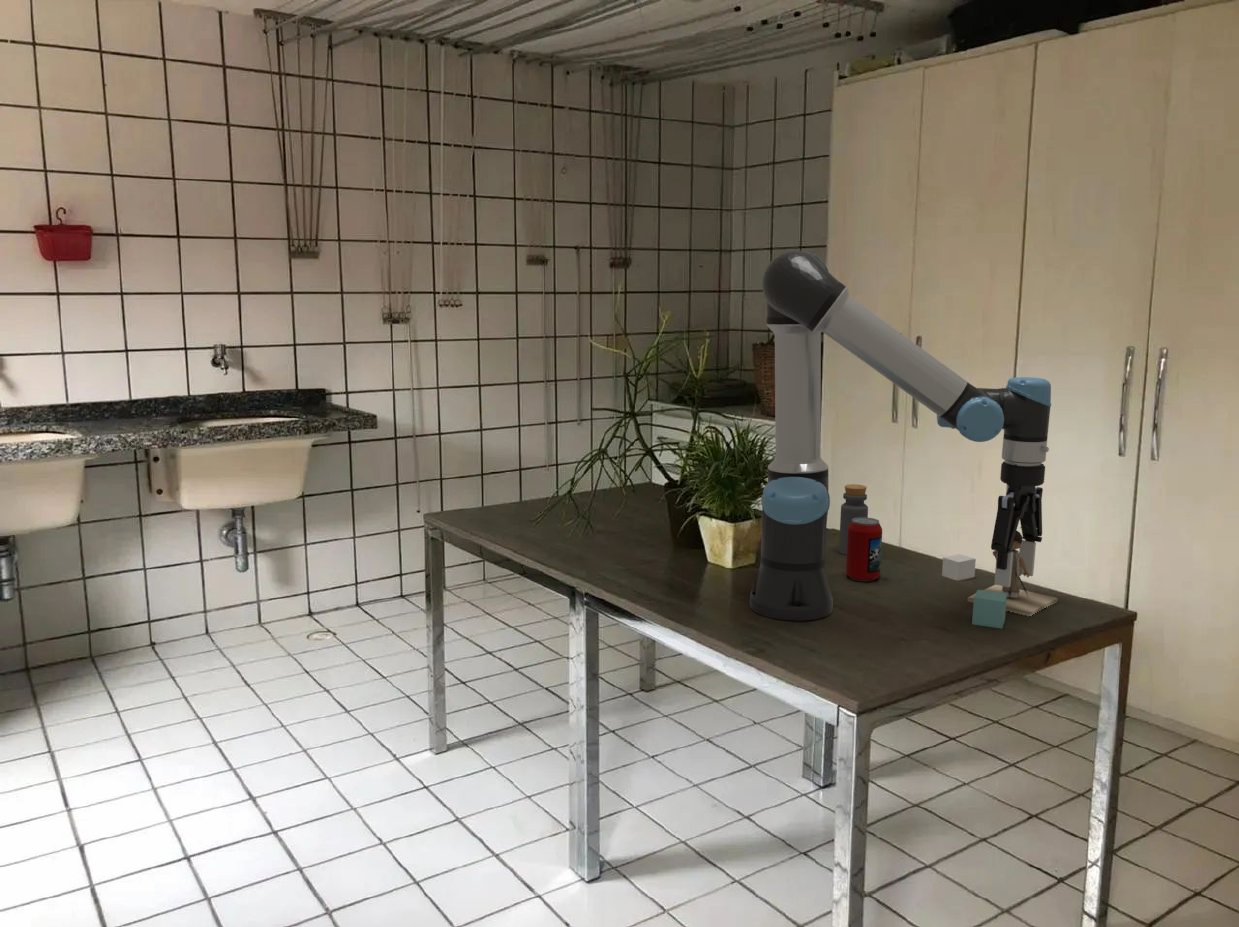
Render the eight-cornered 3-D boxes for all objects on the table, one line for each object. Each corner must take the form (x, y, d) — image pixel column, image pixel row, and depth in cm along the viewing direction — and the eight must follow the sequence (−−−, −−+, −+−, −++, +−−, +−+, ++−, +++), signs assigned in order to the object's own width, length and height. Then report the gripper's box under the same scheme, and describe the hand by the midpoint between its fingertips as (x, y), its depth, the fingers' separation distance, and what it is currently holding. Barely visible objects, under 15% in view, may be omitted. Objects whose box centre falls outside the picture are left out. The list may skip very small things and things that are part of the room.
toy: (991, 597, 187) (992, 518, 187) (996, 593, 192) (997, 515, 191) (1026, 600, 184) (1027, 519, 183) (1031, 595, 189) (1031, 517, 188)
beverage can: (880, 583, 199) (883, 525, 197) (846, 581, 201) (848, 523, 198) (878, 574, 206) (882, 517, 204) (845, 572, 207) (848, 515, 205)
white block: (957, 581, 202) (958, 562, 201) (941, 576, 205) (943, 557, 204) (974, 577, 204) (975, 558, 203) (959, 572, 207) (960, 554, 207)
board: (1030, 616, 180) (1030, 612, 180) (967, 601, 189) (967, 597, 188) (1057, 602, 188) (1057, 597, 188) (996, 587, 197) (996, 584, 197)
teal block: (1002, 629, 174) (1004, 601, 173) (971, 624, 176) (973, 597, 175) (1004, 620, 179) (1007, 593, 178) (975, 616, 181) (977, 589, 180)
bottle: (863, 549, 225) (867, 483, 222) (867, 556, 219) (871, 489, 216) (837, 548, 225) (840, 483, 222) (840, 555, 219) (843, 488, 217)
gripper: (1017, 472, 173) (1007, 597, 178) (1068, 457, 188) (1058, 572, 193) (976, 467, 179) (967, 587, 183) (1028, 452, 194) (1019, 564, 198)
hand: (1014, 579), depth 188 cm, fingers open, 9 cm apart
